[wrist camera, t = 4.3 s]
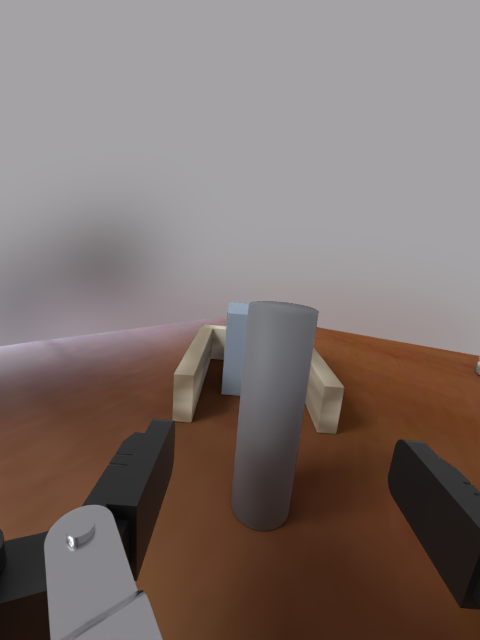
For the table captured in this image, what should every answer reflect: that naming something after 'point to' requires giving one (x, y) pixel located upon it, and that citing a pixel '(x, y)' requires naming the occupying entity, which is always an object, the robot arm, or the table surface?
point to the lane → (211, 345)
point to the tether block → (267, 403)
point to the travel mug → (478, 367)
